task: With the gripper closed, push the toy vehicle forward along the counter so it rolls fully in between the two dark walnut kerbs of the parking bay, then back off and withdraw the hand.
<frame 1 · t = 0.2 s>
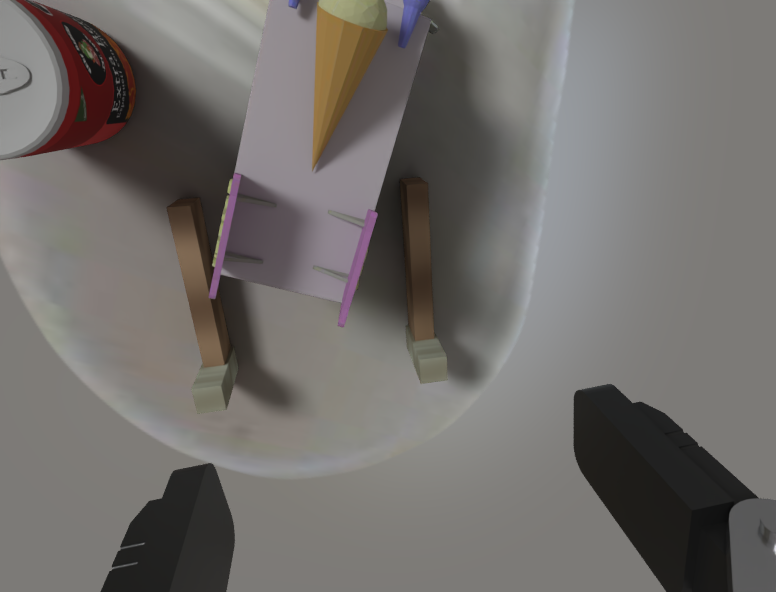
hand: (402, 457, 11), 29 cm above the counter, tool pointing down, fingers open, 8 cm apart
bay: (313, 278, 39), on the counter
canned food: (76, 82, 33), on the counter
toy vehicle: (322, 113, 35), on the counter
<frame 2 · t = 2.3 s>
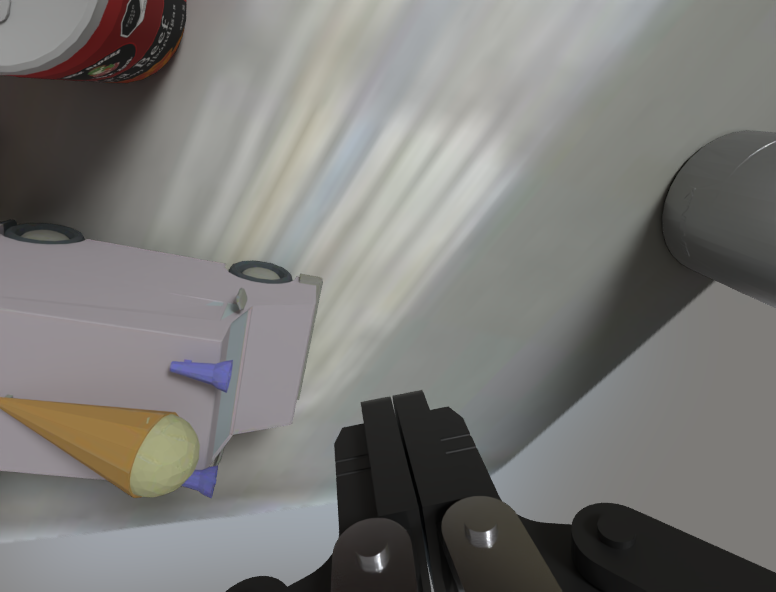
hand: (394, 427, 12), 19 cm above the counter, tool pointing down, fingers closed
toy vehicle: (150, 297, 30), on the counter
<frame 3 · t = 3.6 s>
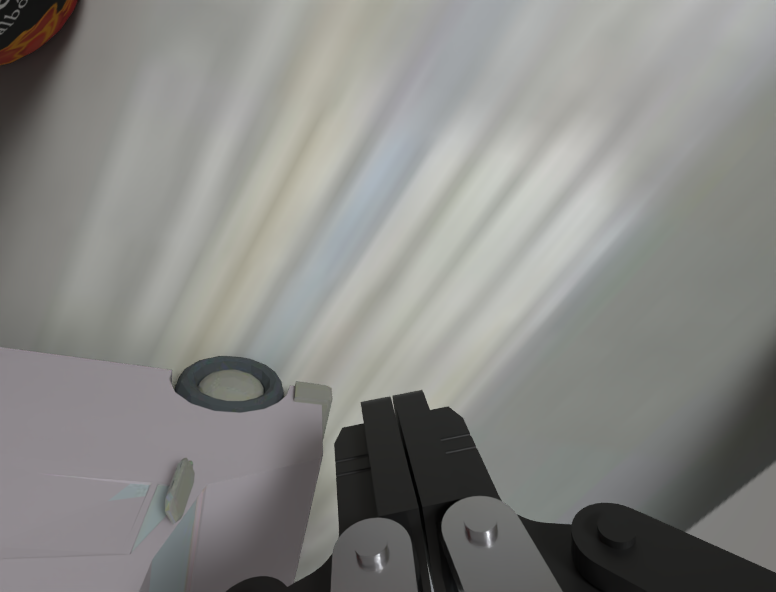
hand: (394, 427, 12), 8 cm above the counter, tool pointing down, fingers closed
toy vehicle: (59, 411, 19), on the counter
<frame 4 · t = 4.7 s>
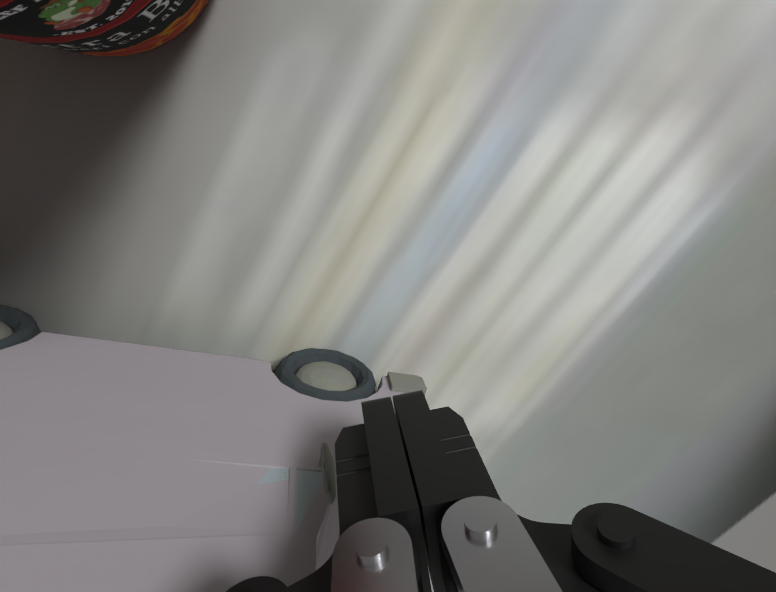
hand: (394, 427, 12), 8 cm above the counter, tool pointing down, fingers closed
toy vehicle: (147, 405, 19), on the counter, touching gripper
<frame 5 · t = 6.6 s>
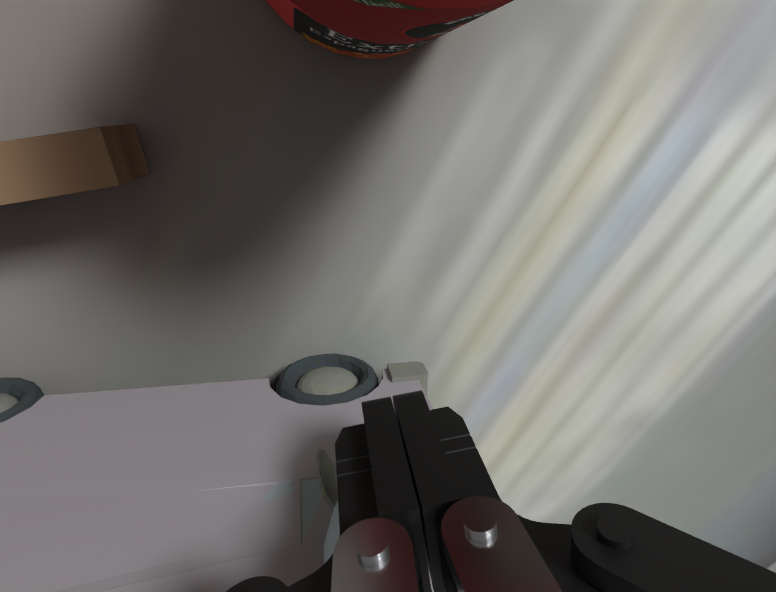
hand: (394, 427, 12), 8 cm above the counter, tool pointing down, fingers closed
bay: (12, 408, 18), on the counter
toy vehicle: (166, 443, 20), on the counter, touching bay, gripper
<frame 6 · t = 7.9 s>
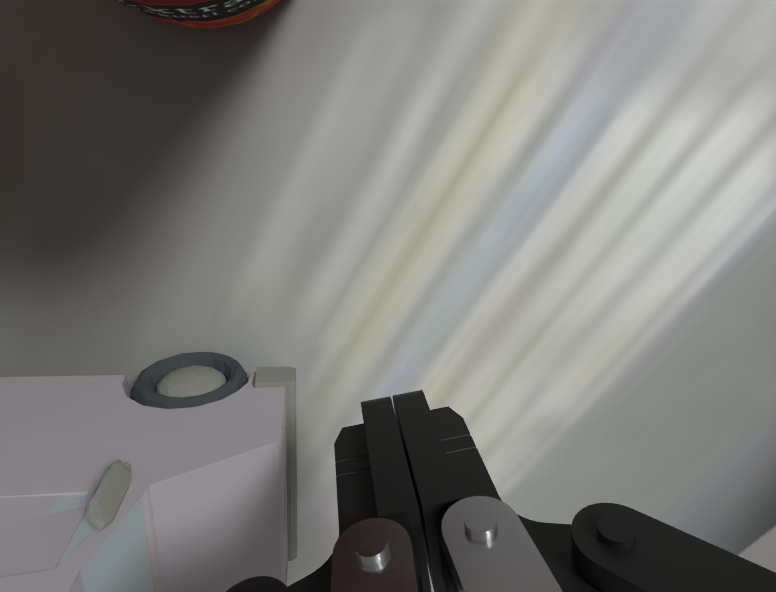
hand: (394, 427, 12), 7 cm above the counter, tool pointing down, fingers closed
toy vehicle: (33, 435, 19), on the counter
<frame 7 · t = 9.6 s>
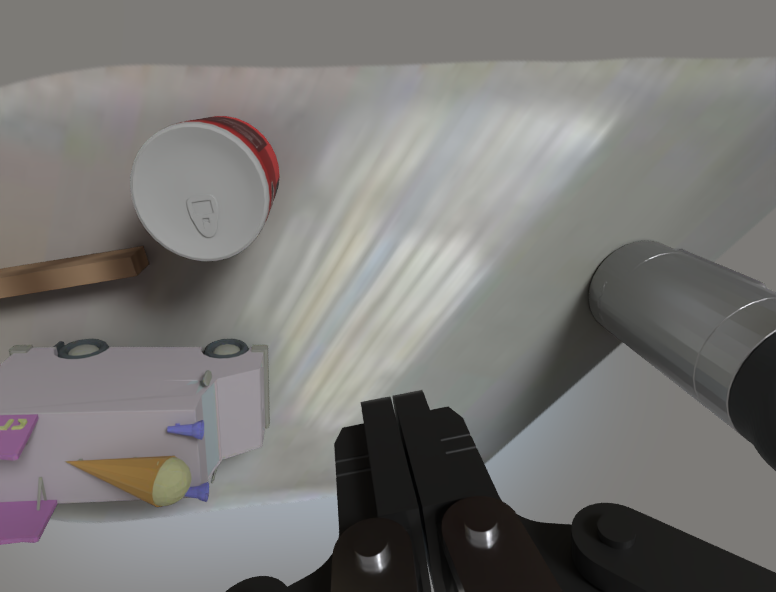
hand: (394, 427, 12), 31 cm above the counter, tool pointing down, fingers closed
bay: (91, 357, 43), on the counter
canned food: (230, 170, 39), on the counter
toy vehicle: (157, 373, 44), on the counter
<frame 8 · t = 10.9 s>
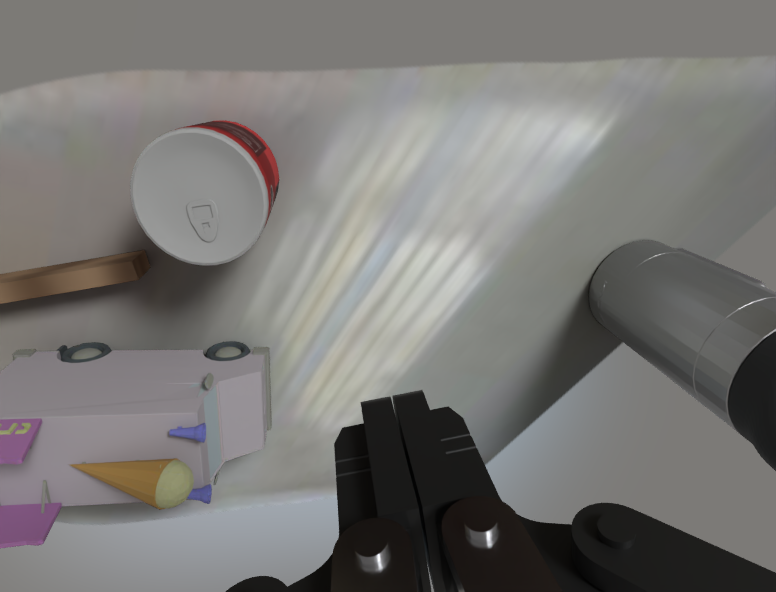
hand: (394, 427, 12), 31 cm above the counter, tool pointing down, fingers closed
bay: (94, 361, 43), on the counter
canned food: (230, 173, 39), on the counter
toy vehicle: (160, 376, 45), on the counter
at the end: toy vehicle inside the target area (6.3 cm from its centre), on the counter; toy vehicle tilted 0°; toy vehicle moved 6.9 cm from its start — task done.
